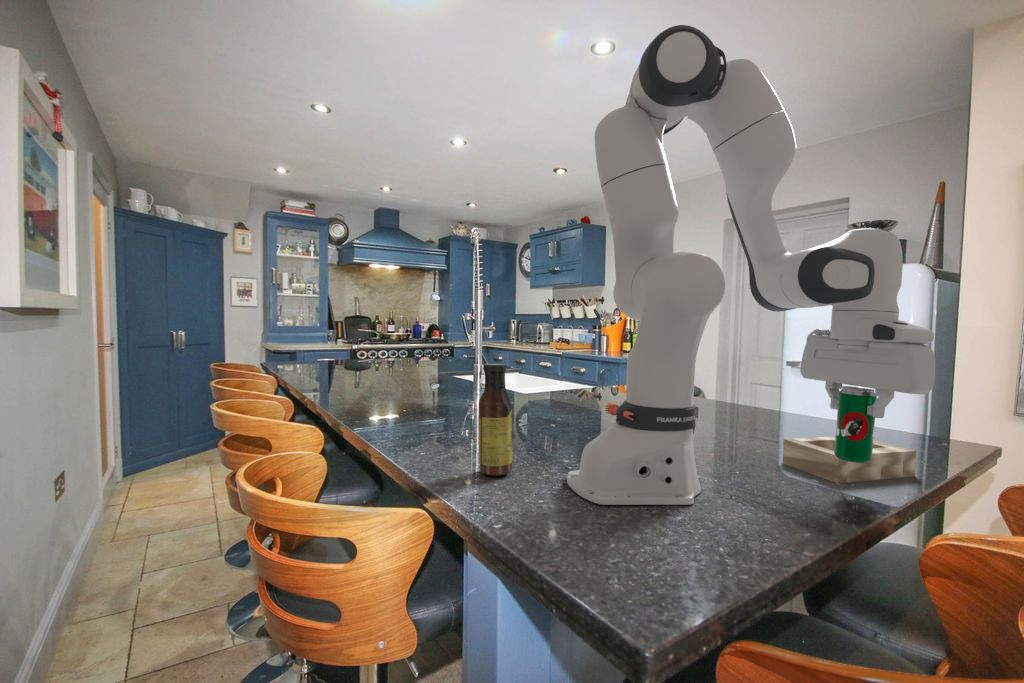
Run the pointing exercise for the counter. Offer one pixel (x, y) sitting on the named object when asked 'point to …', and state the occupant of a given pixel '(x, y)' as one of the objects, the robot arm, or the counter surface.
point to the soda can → (854, 425)
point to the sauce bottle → (495, 423)
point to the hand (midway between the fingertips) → (855, 413)
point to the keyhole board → (825, 464)
